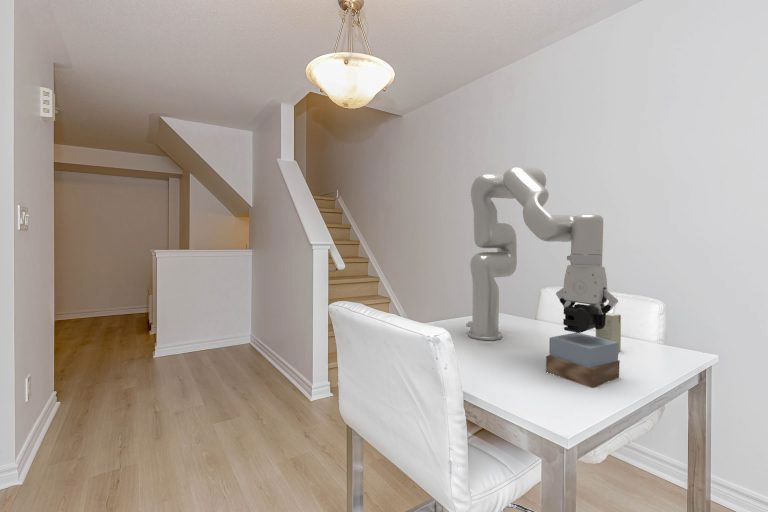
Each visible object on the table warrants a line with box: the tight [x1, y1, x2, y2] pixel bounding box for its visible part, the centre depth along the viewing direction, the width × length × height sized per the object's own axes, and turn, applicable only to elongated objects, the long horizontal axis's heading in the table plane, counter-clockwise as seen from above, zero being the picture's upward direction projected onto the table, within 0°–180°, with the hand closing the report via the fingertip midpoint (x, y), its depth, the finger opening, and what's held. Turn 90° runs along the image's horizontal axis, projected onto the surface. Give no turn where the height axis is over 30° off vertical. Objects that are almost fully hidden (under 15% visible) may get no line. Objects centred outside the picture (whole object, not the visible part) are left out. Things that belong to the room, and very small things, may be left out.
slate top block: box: [548, 332, 619, 368], centre depth 105 cm, size 12×12×5 cm
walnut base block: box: [545, 354, 621, 389], centre depth 105 cm, size 13×13×5 cm
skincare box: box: [595, 312, 622, 353], centre depth 128 cm, size 6×4×12 cm
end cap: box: [562, 303, 606, 333], centre depth 105 cm, size 10×7×7 cm
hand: (584, 325), depth 105 cm, fingers closed on end cap, 7 cm apart
